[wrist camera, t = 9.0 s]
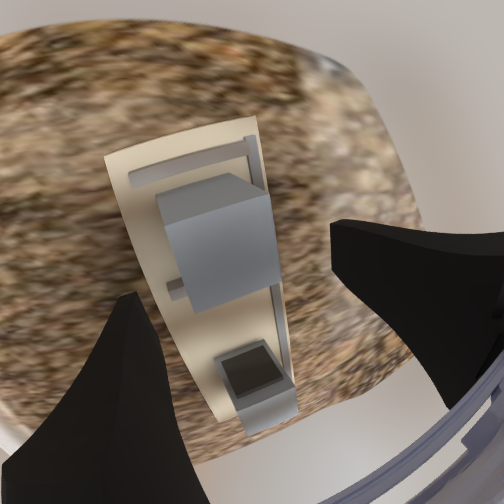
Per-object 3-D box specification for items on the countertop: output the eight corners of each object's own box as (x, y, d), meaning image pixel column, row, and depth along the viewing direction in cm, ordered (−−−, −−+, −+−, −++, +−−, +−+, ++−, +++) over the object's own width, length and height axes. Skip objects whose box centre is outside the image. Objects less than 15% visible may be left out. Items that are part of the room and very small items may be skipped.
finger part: (244, 245, 17) (283, 288, 13) (178, 267, 16) (197, 321, 12) (229, 172, 15) (269, 193, 11) (155, 194, 14) (164, 226, 10)
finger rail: (289, 382, 27) (321, 428, 22) (215, 413, 25) (237, 465, 20) (247, 116, 15) (306, 114, 10) (106, 154, 13) (86, 171, 8)
